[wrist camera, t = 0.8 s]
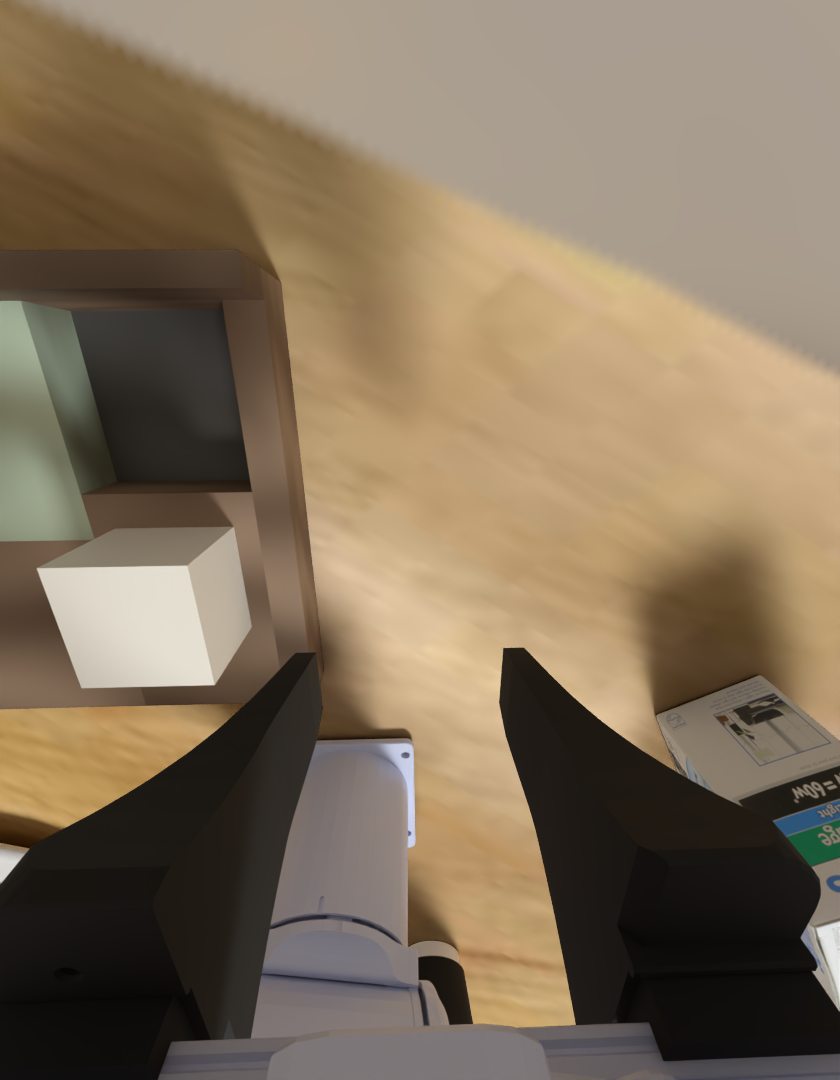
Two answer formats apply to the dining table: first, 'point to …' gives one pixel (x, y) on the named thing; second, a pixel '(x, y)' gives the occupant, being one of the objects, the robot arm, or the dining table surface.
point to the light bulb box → (772, 785)
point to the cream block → (150, 606)
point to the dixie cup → (445, 978)
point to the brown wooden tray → (147, 448)
